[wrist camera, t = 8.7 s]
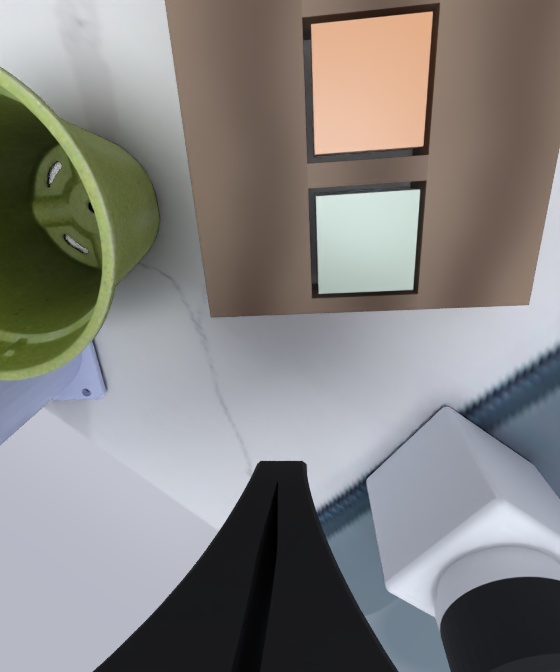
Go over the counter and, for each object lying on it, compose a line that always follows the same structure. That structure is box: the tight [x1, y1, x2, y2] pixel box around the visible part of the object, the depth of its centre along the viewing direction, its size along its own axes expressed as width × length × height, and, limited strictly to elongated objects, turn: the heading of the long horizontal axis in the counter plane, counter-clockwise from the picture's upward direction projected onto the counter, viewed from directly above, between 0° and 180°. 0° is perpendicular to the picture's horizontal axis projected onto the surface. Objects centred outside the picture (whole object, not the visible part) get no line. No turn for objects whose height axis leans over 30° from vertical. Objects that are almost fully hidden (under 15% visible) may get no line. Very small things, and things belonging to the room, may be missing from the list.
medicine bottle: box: [366, 407, 560, 672], centre depth 18 cm, size 7×7×12 cm
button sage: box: [315, 187, 420, 294], centre depth 17 cm, size 4×4×2 cm
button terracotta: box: [311, 12, 433, 157], centre depth 15 cm, size 4×4×2 cm
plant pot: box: [0, 67, 159, 381], centre depth 15 cm, size 9×9×9 cm
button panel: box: [165, 0, 560, 317], centre depth 15 cm, size 14×17×2 cm
